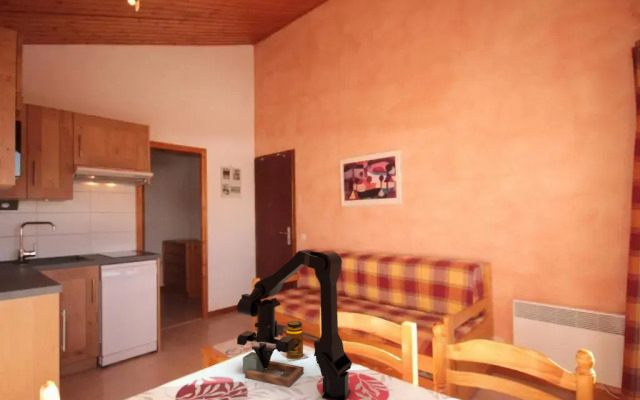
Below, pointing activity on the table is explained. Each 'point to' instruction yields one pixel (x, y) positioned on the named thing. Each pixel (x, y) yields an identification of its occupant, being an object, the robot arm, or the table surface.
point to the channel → (276, 379)
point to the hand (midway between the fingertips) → (265, 368)
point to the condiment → (297, 334)
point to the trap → (285, 374)
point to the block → (252, 363)
